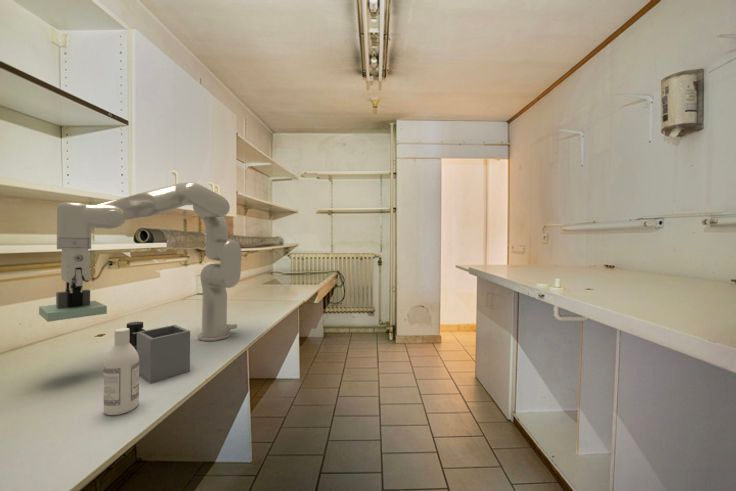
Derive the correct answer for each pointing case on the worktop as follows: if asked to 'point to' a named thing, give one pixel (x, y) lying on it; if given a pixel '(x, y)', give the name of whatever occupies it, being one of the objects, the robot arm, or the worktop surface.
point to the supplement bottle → (134, 332)
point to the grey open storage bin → (163, 352)
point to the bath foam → (121, 375)
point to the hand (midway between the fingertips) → (73, 305)
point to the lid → (71, 308)
